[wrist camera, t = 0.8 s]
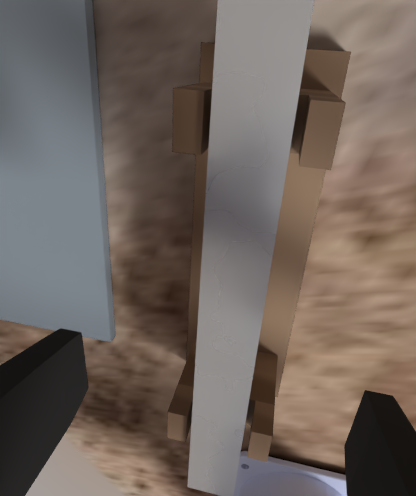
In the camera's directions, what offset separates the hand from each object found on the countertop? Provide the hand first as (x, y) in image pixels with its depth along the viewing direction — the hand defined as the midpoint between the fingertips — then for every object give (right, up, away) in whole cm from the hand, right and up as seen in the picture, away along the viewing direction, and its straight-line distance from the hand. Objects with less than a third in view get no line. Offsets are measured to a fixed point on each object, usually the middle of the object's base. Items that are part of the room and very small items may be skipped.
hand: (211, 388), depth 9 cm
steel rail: (+1, +2, +4) cm, 5 cm away
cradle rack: (+2, +4, +8) cm, 9 cm away
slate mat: (-9, +8, +8) cm, 14 cm away
